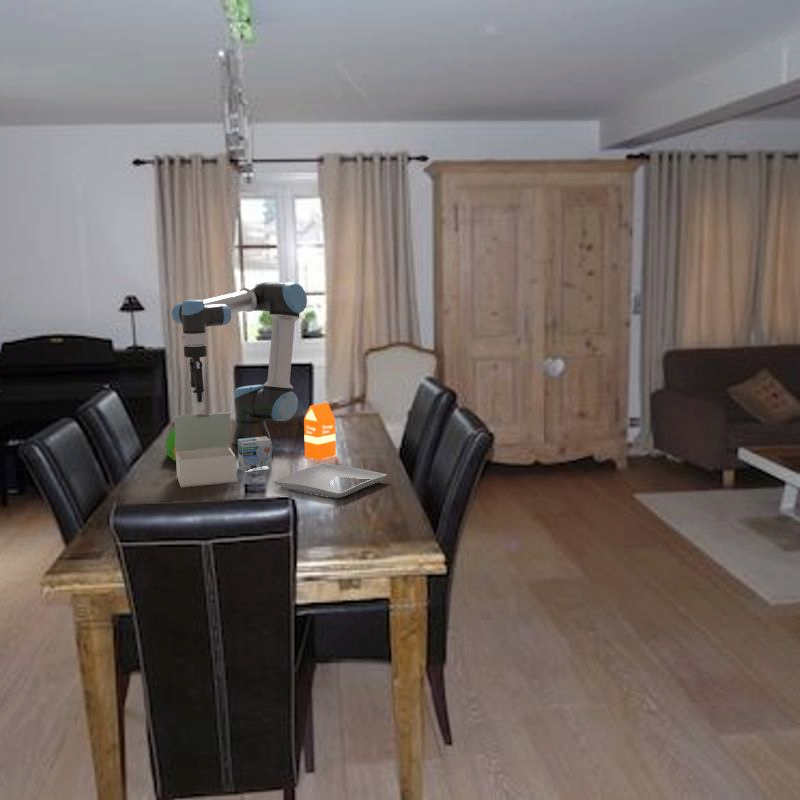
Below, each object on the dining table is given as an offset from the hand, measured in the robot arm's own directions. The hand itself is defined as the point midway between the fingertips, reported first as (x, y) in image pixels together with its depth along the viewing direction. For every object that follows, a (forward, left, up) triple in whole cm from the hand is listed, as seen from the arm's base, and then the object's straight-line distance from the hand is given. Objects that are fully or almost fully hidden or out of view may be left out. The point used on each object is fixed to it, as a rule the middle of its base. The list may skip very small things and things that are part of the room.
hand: (198, 408), depth 282 cm
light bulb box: (-18, +6, -22) cm, 29 cm away
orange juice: (-44, -3, -22) cm, 49 cm away
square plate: (-37, +37, -23) cm, 57 cm away
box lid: (0, +10, -6) cm, 12 cm away
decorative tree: (+4, -22, -22) cm, 32 cm away
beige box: (0, +14, -22) cm, 26 cm away
